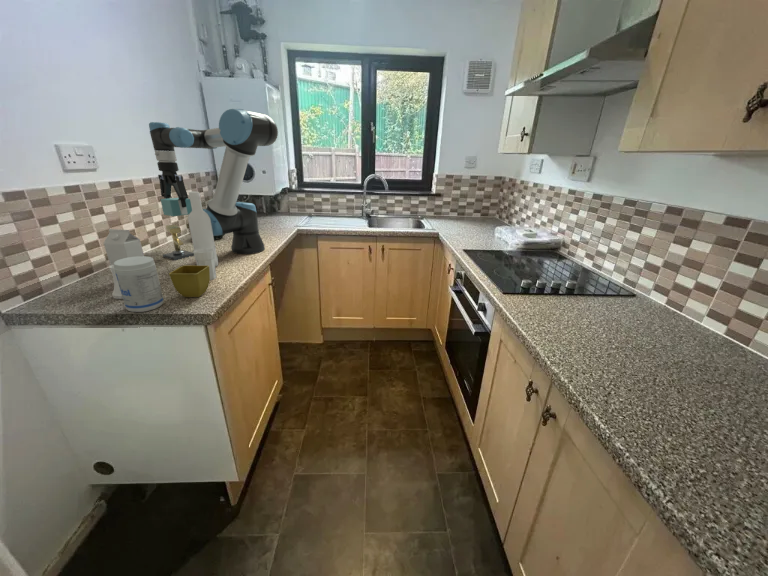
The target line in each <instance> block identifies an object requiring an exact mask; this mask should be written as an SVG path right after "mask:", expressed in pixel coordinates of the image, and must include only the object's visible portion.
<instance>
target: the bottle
mask: <svg viewBox="0 0 768 576" xmlns="http://www.w3.org/2000/svg"><path fill="white" fill-rule="evenodd" d="M188 198H189V199H190V202H191V207H192V211H191V213H190V214H189V215H187V217H188V218H187V221H188V227H189V232H190V237H191V241H192V247H193V250H195V249H199V248H212V249H213V251H214V262H215V268H217V267H219V259H218V254H217V249H216V243H215V240H214V237H213V231H212V226H211V220H210V217H209V216H208V214H207V213H206V212H205V211H203V209H204V208H203V205H202V200H201V193H200V192H199V191H189V192H188ZM216 266H217V267H216Z"/></svg>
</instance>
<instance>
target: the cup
mask: <svg viewBox="0 0 768 576" xmlns="http://www.w3.org/2000/svg"><path fill="white" fill-rule="evenodd" d="M192 252H193V253H194V256H193V258H194V260H195V262H196V265H198V266H209V271H210V281H212V280H215V279H217V275H216V274H217V272H216V267H215V262H214V251H213V249H212V248H199V249H195V250H194V249H193V250H192Z"/></svg>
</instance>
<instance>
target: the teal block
mask: <svg viewBox="0 0 768 576" xmlns="http://www.w3.org/2000/svg"><path fill="white" fill-rule="evenodd" d="M178 199H179V198H178V197H172V198H168V199H165V198H160V204H161V208H162V213H163V215H164V216H165V215H166V216H169V217H179V216H181V217H182V215H181V211H180V207H179V202H178ZM185 201H186V208H187V212H188V214H184V215H183V216H189V214H190V213H191V211H192V207H191V202H190V198H188V199H186V200H185Z"/></svg>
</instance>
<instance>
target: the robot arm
mask: <svg viewBox="0 0 768 576" xmlns="http://www.w3.org/2000/svg"><path fill="white" fill-rule="evenodd" d="M148 126H149V127H148V129H149V134H150V139H151V142H152V146H153V150H154V155H155V158H156V159H155V160H156V161H158V162H157V163H156V164H157V169H158V171H159V172H161V174H158V175H157V177H158V179H159V186H160V195H161V197H162V198H163V199H168V198H173V196H172V187H173V189H174V191H175V193H176V195H177V198H179V199H178V202H179V207H180V211H181V216H185V215H184V214H188V212H187V208H186V201H185V200H186V199H189V194H188V192H187V190H186V185H185V183H184V177H183V176H182V175H178V173H177V172H179V170H180V169H179V166H178V165H179V164H178V163H177V155H176V151H175V148H184V149H185V148H186V149H187V148H189V149H206V150H214V149H215V150H216V149H218V148H222V147H223V148H225V149H224V153H223V159H222V161H221V162H222V163H221V165H220V171H219V174H218V179H217V183H216V187H215V191H214V194H213V197H212V198H211V199H209V200H208V201H207V205H206V207H205V208H202V209H203V211H205V212H206V213H207V214H208V216H209V217H210V220H211V226H212V231H213V236H218V235H219V236H220V235H223V234H225V235H226V234H231V233H232V236H233V237H232V242H231V248H230V249H231V253H234V254H237V255H240V254H241V255H249V254H258V253H261V252H263V251H264V250H265V243H264V241H263V240H262V237H261V234H260V231H259V223H258V212H257V208H256V205H255V204H254V203H251V202H243V201H237V200H238V198H239V195H240V191H241V188H242V185H243V180H244V177H245V174H246V170H247V167H248V164H249V160H250V157H254V156H255V155H256V153H257V149H258V147H268V146H271V145H273V144H274V143H275V142H276V141H277V138H278V135H279V134H278V133H279V131H278V125H277V124H276V122H275V120H273V119H272V118H271V116H269V115H267V114H265V113H262V112H256V111H249V110H245V109H242V108H230V109H227V110H225V111H224V112H223V113H222V114H221V116H220V118H219V121H218V127H215V128H209V129H191V128H186V127H179V126H177V127H170V124H169V123H168V122H159V121H158V122H157V121H156V122H155V121H154V122H153V121H150V122H149V123H148Z"/></svg>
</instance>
